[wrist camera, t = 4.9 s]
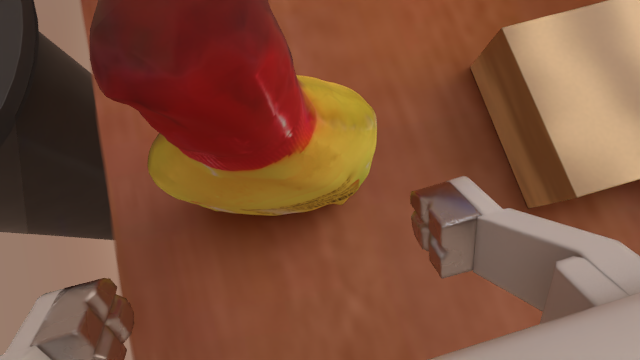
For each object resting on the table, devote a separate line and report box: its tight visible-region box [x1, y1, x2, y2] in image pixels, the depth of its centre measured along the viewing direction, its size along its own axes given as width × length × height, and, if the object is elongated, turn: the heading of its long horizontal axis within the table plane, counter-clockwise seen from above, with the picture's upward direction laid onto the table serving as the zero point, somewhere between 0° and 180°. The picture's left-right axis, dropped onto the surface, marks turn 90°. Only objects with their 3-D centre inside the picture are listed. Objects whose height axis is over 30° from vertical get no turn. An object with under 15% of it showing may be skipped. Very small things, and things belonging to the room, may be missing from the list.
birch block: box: [470, 0, 640, 208], centre depth 25 cm, size 12×12×5 cm
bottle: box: [90, 0, 377, 216], centre depth 16 cm, size 12×6×20 cm, turn 98°
